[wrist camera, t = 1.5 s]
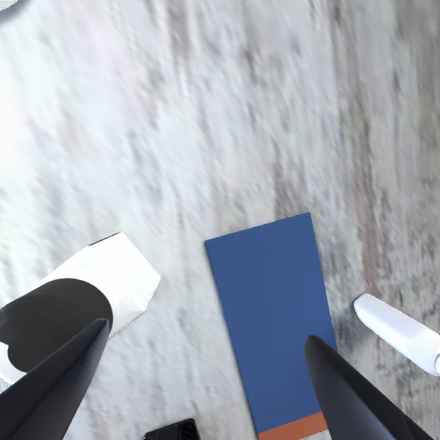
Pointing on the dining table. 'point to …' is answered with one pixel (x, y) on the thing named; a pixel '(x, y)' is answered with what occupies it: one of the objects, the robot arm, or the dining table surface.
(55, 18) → the dining table surface
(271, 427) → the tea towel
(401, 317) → the eye dropper bottle
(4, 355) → the medicine bottle
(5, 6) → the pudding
